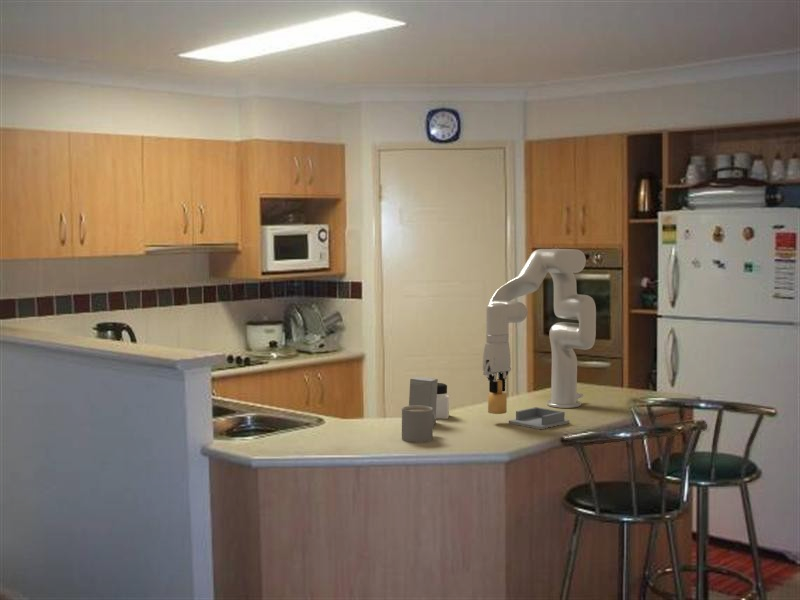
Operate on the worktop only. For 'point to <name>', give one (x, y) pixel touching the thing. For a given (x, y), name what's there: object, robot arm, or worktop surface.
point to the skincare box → (423, 392)
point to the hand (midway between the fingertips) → (497, 391)
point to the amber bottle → (497, 401)
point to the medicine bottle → (442, 402)
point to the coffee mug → (417, 423)
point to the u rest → (539, 418)
